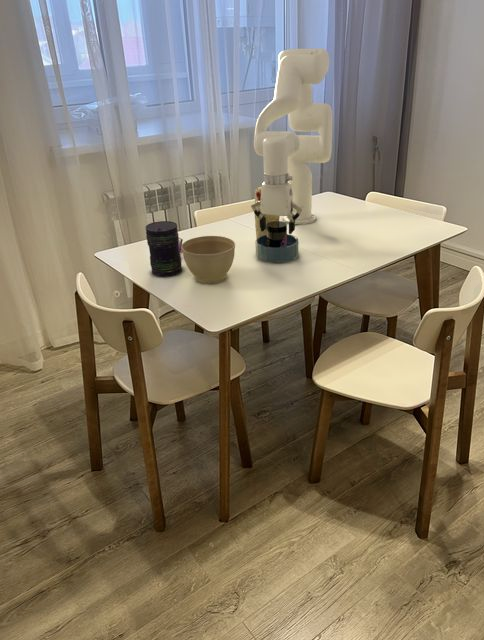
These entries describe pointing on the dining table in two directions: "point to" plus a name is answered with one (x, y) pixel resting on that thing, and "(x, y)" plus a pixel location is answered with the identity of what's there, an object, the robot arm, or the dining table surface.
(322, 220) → the dining table surface
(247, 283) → the dining table surface
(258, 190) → the food model
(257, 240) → the basin
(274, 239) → the supplement container
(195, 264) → the planter bowl
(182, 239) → the pink toy figurine
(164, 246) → the storage jar
